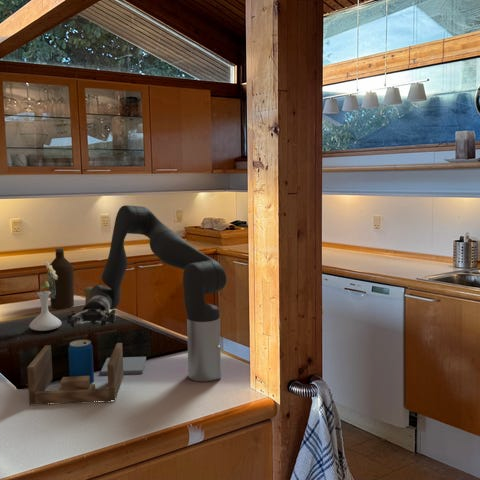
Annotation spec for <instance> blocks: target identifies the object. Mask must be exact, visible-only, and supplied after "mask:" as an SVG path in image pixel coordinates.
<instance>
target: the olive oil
mask: <svg viewBox="0 0 480 480" xmlns="http://www.w3.org/2000/svg"><path fill="white" fill-rule="evenodd" d="M49 265H52V268H53V270H55V271H56V273H55V274H56V275H57V276H58V277H57V280H56V279H54V278H53V277H52V276H51V274H50V273H48V272H47V273H48V275H47V282H48V283H49V285H50V286H49V287H48V288H49V289H48V291H50V292H51V293H50V295H49V298H50V300H49V301H50V308H52V309H57V310H63V309H68V308H72V307H74V305H75V303H74V298H75V297H74V296H75V295H74V286H75V285H74V283H75V282H74V276H75V273H74V271H75V270H74V266H73V264H72V263H71V262H70V261H68V259H66V257H65V251H64V248H63V247H59V248H57V247H56V248H55V257H54V259H53V260H52V262H51V263H49Z"/></svg>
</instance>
